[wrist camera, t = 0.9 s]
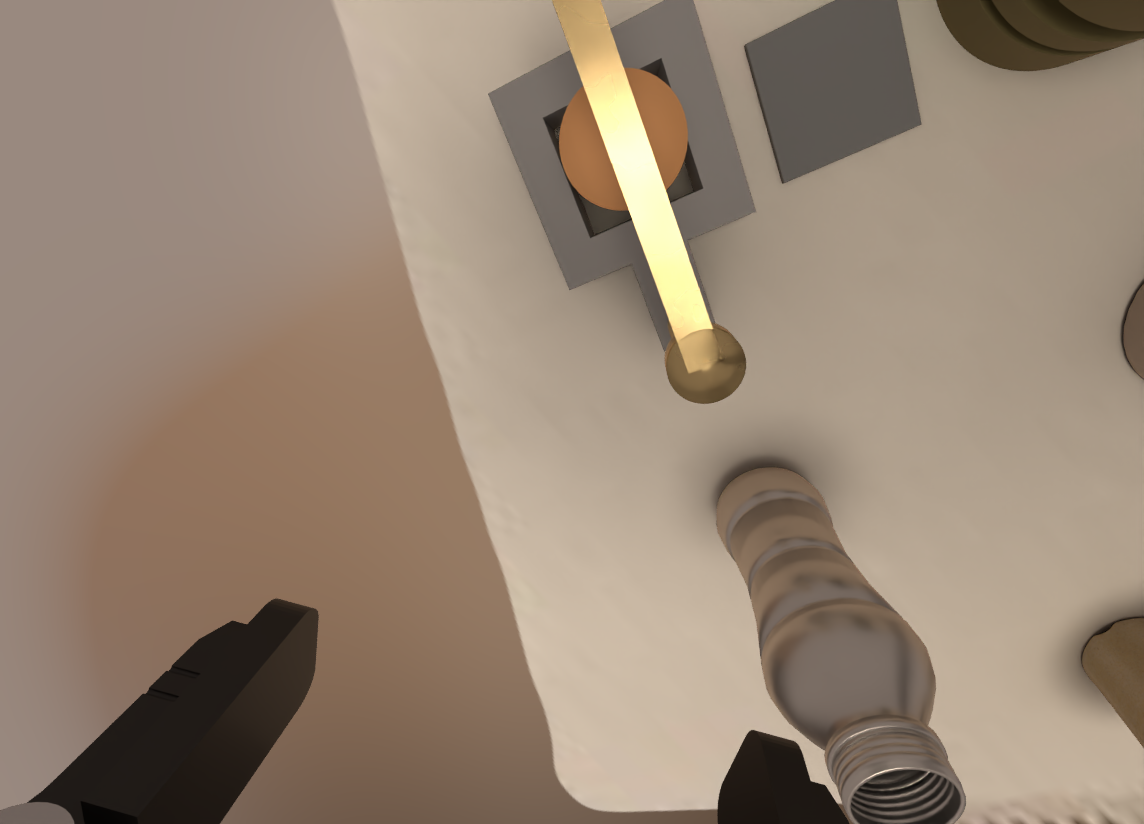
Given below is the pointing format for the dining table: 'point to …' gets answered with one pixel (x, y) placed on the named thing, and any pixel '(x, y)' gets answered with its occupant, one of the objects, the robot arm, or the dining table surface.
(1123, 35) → the piston
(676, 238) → the lever
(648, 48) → the socket block
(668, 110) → the plug
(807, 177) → the dining table surface
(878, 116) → the mat
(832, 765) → the plastic bottle
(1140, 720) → the flower pot
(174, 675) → the robot arm
